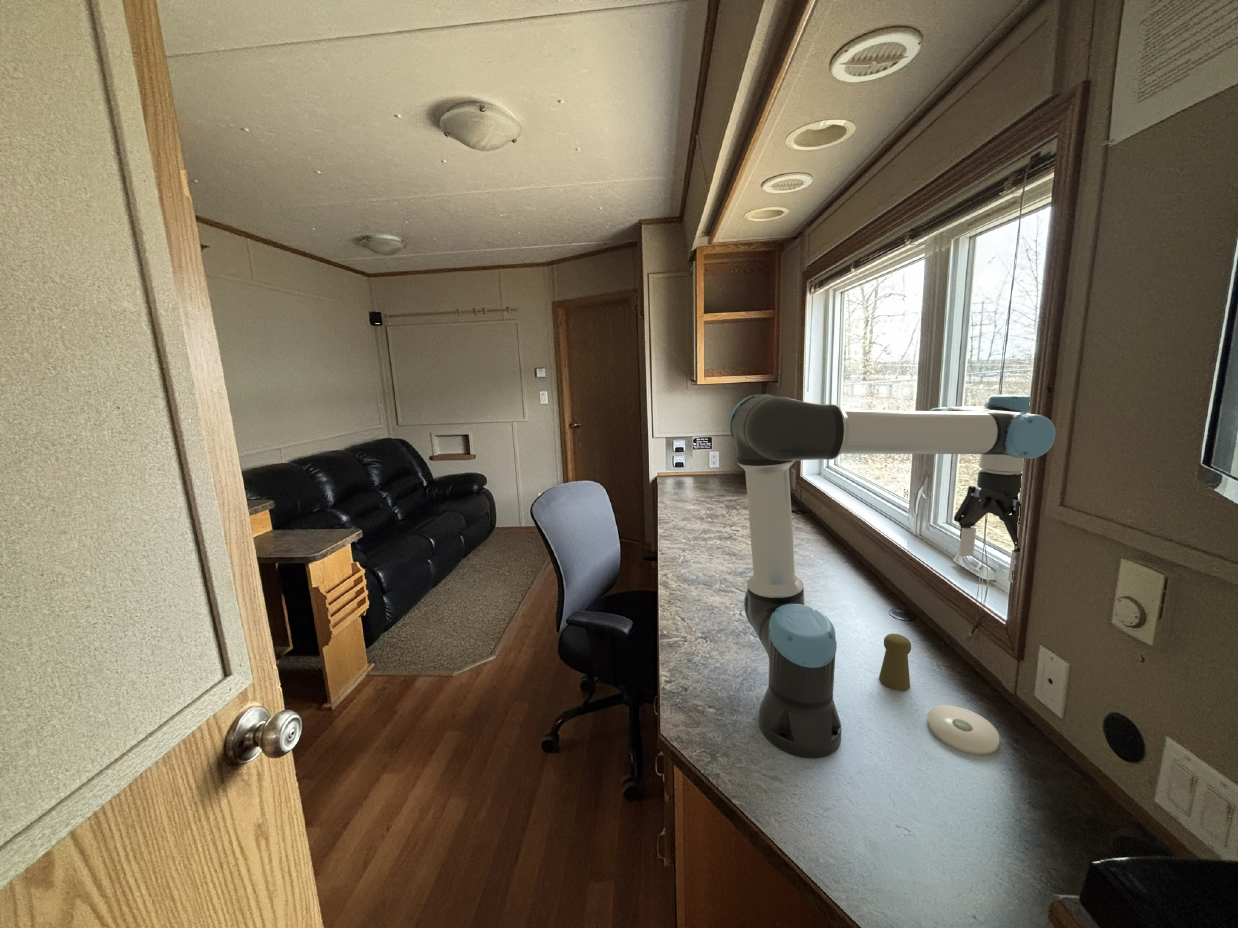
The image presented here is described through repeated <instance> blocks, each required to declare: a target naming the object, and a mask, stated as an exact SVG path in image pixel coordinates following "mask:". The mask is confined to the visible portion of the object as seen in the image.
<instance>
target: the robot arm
mask: <svg viewBox="0 0 1238 928" xmlns="http://www.w3.org/2000/svg"><path fill="white" fill-rule="evenodd" d="M1029 402H1030V395H1026V394H1025V395H1024V394H992V395H989V396H988V397H987V399H986V403H985V404H984V405H979V406H975V405H974V406H950V405H949V406H948V405H946V406H944V407H934V408H931V409H930V410H928V411H927V410H925V411H924V410H843V409H842V408H841V407H840V406H839V405H837V404H829V403H828V404H824V403H820V404H819V403H814V402H808V401H807V402H806V401H804V400H803V401H802V400H798V399H794V398H793V399H792V398H790V397H784V396H776V395H773V394H769V393H759V394H754V395H753V394H752V395H749V396H748V397H745V398H744V399H741V401H739V402H738V403H737V404H736V405H735V407H734V408H733V409H732V411H731V413H730V416H729V420H728V427H729V428H728V429H729V432H730V434H731V437H732V439H733V440H734V442H735V451H736V453H735V454H736V462H737V465H738V466H740V467H741V468H742V469H743V470H744V472H745V485H746V495H747V498H746V499H747V509H748V511H747V512H748V521H749V522H748V523H749V532H750V533H749V535H750V546H751V547H750V548H751V558H752V559H751V560H752V573H753V575H752V576H750V577H749V579H748V580H747V582H746V586H747V587H746V588H747V589H746V592H745V595H744V599H743V608H744V612H745V616H746V618H747V621H748V622H749V624H750V626H751V627H752V628H753V630H754V632H755V633H756V636H757V637H758V639H759V641H760V643H761V646H762V647H763V648H764V650H765V652H766V654H767V656H768V658H767V659H768V686H767V688H766V691H765V694H764V696H763V698H762V701H761V703H760V705H759V708H758V725H759V728H760V731H761V732H762V734H763V736H764V737H765V738H766V740H768V741H769V742H770V743H771V744H772V745H773V746H774V747H777V748H778V749H780V750H782V751H783V752H785V753H787V754H791V755H793V756H796V757H800V758H801V757H802V758H808V759H816V758H823V757H827V756H829V755H831V754H833V753H835V752H836V751H837V749H839V747H840V745H841V741H842V730H843V729H842V724H841V720H840V716H839V714H838V711H837V707H836V704H835V702H834V684H835V666H836V653H837V650H838V649H837V645H838V643H837V640H836V638H837V637H836V631H835V626H834V625H833V623H832V622H831V620H830V619H829V617H828V616H826V615H825V614H824V613H823V612H822V611H820V610H819V609H813V607H811V606H808V605H805V603H806V602H805V592H804V589H805V588H804V582H803V580H802V579H801V578H800V577H798V576H797V574H796V570H795V569H796V566H795V550H794V548H795V547H794V535H793V534H794V532H793V531H794V530H793V518H792V517H793V516H792V501H791V500H792V498H791V483H790V481H791V480H790V468H791V466H792V465H793V464H794V463H795V462H796V461H814V460H815V461H816V460H818V461H819V460H822V461H823V460H830V461H831V460H835V459H837V458H838V457H839V456H840V455H841V454H842V455H843V454H846V455H847V454H848V455H849V454H850V455H852V454H853V455H854V454H856V455H859V454H860V455H863V454H866V455H868V454H869V455H875V454H876V455H894V454H895V455H939V454H940V455H979V461H978V467H979V468H980V470H978V472H977V482H976V485H969V486H968V487H967V492H966V496H965V497H964V499H963V501H962V503H961V505H960V506H959V508H958V510H957V512H956V513H955V514H954V517H953V521H954V522H956V523H958V525H959V527H960V532H959V540H960V542H959V550H958V556H960V557H970V556H971V557H973V556H974V551H975V541H976V533H977V528H976V527H975V526H976V524H977V523H978V522H979V521H981V519H982V518H983V517H986V515H987V514H992V515H993V516H996V517H998V520H1000V521H1001V522H1003V524H1004V526H1005V528H1006V530H1007V532H1008V535H1009V537H1010V540H1011V542H1012V543H1013V545H1014V547H1015V546H1018V538H1017V522H1018V516H1019V506H1020V517H1021V504H1020V501H1021V500H1020V499H1019V494H1020V493H1021V492H1020V488H1021V476H1022V473H1023V472H1022V470H1023V459H1024V458H1027V460H1028V459H1036V458H1039V457H1041V456H1043V455H1044V454H1046V453H1047V452H1048V451H1049V450H1050V449H1052V447H1053V445H1054V443H1055V438H1056V432H1057V431H1056V427H1055V425H1054V423H1053V422H1052V420H1051V419H1049V418H1048V417H1046V416H1044V415H1041V414H1036V413H1034V414H1031V413H1029ZM1021 472H1022V473H1021ZM1019 521H1020V518H1019ZM1018 524H1020V522H1019V523H1018ZM1015 542H1017V544H1015ZM1018 552H1020V548H1017V549H1016V548H1015V549H1012V550H1011V556H1010V564H1009V569H1008V570H1009V571H1008V578H1007V581H1008V582H1010V583H1014V582H1013V580H1012V571H1013V570H1014V558H1015V556H1016V555H1015V553H1018ZM1013 576H1014V575H1013Z"/></svg>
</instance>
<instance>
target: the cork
mask: <svg viewBox="0 0 1238 928" xmlns="http://www.w3.org/2000/svg"><path fill="white" fill-rule="evenodd" d="M883 646H884V649H885V652H884V656H883V660H882V663H881V668H880V672H879V678H878V680H879V682H880V684H881V685H883V686H884V687H885V688H888V689H889V690H892V691H896V692H906V691H908V690H910V688H911V682H910V681H911V680H910V677H911V676H910V667H909V654H910V653H911V650H912V643H911V641H910V640H909V639H908V637H906V636H904V635H901V634H899V633H889V634H887V635H886V636H885V637H884V639H883Z"/></svg>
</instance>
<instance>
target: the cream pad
mask: <svg viewBox="0 0 1238 928" xmlns="http://www.w3.org/2000/svg"><path fill="white" fill-rule="evenodd" d="M926 723H927V724H926V725H927V727H928V729H929V730H930V732H931V733H932V734H933V736H935V737H936V738H937V739H938V740H940V741H941V742H942V743H944V744H946V746H948V747H951V748H953V749H955V750H957V751H960V752H963V753H965V754H966V753H967V754H970V755H976V756H988V755H992V754H994V753H996V752H997V750H998V748H999V744H1000V734H999V732H998V730H997V729H996V727H995V726H994V725H993V724H992V723H991V722H990V721H988V720H987V719H986V718H984V717H983V716H981V715H979V714H977V712H973V711H971V710H969V709H966V708H963V707H959V706H956V705H948V704H941V705H935V706H932V707H931V708H930V709H929V710H928V712H927V720H926Z"/></svg>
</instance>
